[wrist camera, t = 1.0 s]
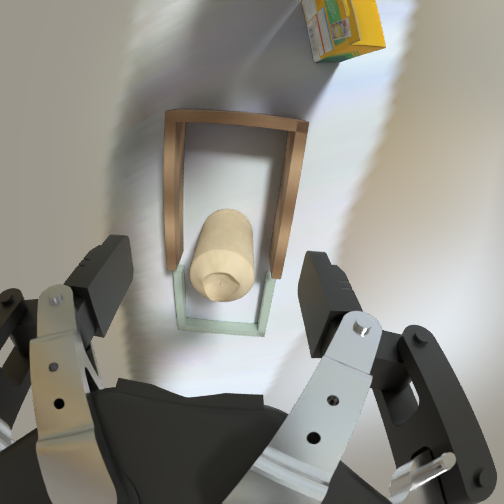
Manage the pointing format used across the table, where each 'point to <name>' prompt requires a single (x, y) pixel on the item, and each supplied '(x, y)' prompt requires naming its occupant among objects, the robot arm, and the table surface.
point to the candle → (224, 257)
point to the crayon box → (342, 28)
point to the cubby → (175, 172)
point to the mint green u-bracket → (221, 326)
